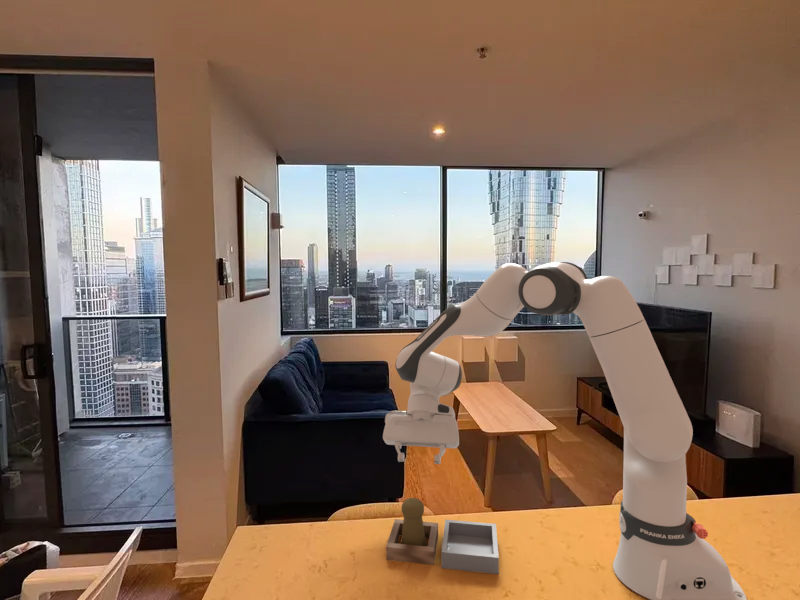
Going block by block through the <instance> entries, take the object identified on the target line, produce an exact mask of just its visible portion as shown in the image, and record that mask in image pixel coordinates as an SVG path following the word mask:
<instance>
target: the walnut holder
mask: <svg viewBox="0 0 800 600" xmlns="http://www.w3.org/2000/svg"><path fill="white" fill-rule="evenodd" d="M403 521H404V519H398V518H397V519H396V518H394V522H393V524H392V527H391V531H390V533H389V537H388V540H387V543H386V545H385V556H386V557H385V559H386V560H387V561H393V562H394V561H395V562H402V563H403V562H404V563H412V564H422V565H430V566H431V565H432V566H434V565H435V560H436V553H437V545H438V539H439V522H434V521H433V522H432V521H423V527H424V534H425V539H426V538H427V539H428V543H427V545H426V546H416V545H406V544H401V543H399V540H400V537H401V536H402V530H403Z"/></svg>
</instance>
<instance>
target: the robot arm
mask: <svg viewBox="0 0 800 600" xmlns="http://www.w3.org/2000/svg"><path fill="white" fill-rule="evenodd" d="M523 308H526V309H527V310H528V311H529V312H531V313H533V314H536V315H540V316H541V315H542V316H557V315H561V316H562V315H565V316H566V315H571V314H575V315H577V316H578V318H579V319H580V321H581V322H582V325H583V327H584V329H585V331H586V333H587V336H588V338H589V341H590V343H591V346H592V348H593V350H594V352H595V355H596V357H597V359H598V362H599V365H600V367H601V369H602V371H603V374H604V377H605V380H606V382H607V385H608V388H609V391H610V393H611V397H612V399H613V403H614V404H615V407H616V410H617V413H618V416H619V417H620V420H621V423H622V427H623V464H622V465H623V466H622V467H623V470H622V471H623V473H622V474H623V477H622V481H623V482H622V483H623V484H622V501H620V506H619V508H620V511H619V519H618V520H619V529H620V538H619V544H618V548H617V551H616V555H615V557H614V560H613V562H612V568H613V572H614V573H615V575H616V577H617V578H618V580H619V581H620V582H622V584H624V585H625V586H626V587H627V588H629V589H631V590H632V592H635V593H636V594H638V595H640V596H642V597H644V598H646V599H648V600H748V598H747V596H746V593H745V591H744V590H743V589H742V587H741V586H740V584H739V583H738V582H737V581H736V578H735V579H734V577H733V576H732V575H731V572H730V569H729V566H728V565H727V562H726V561H725V559H724V558H723V556H722V555H721V554H720V552H718V551H717V550H716V548H715V547H714V546H712V544H710V543H709V542H708V541H707V540H705V539H707V537H709V533H708V531H707V529H705V528H704V525H702V524H700V523H697V522H696V519H695V518H694V517H693V515H690V514H689V513H688V512H687V498H688V497H687V494H688V493H687V492H688V476H687V463H686V462H687V460H686V458H687V457H686V454H687V452H688V451H689V449H690V447H691V444H692V441H693V436H694V433H693V432H694V429H693V425H692V421H691V419H690V417H689V415H688V412H687V410H686V408H685V406H684V404H683V401H682V399H681V397H680V394H679V393H678V390H677V388H676V386H675V384H674V381H673V380H672V377H671V376H670V373H669V370H668V368H667V366H666V364H665V361H664V359H663V357H662V354H661V353H660V351H659V349H658V345H657V344H656V341H655V340H654V339H655V338H654V337H653V334H652V333H651V330H650V328H649V326H648V324H647V321H646V319H645V317H644V316H643V315H644V314H643V312H642V311H641V308H640V307H639V305H638V303H637V301H636V300H635V298H634V297H633V295H632V293H631V291H629V289H628V287H627V286H626V285H625V284H624V282H623V281H622V280H621V279H619V278H617V277H616V276H612V275H599V276H596V277H593V278H588V276H587V274H586V272H585V271H584V269H582V268H581V267H580V266H578V265H577V264H575V263H573V262H569V261H560V262H557V261H552V262H547V263H543V264H541V265H540V264H539V265H536V266H534V267H532V268H531V269H529V270H528V269H527V268H525V267H524V266H522V265H520V264H518V263H514V262H513V263H512V262H506V263H504V264H501V266H499V267H498V268H497V269H496V270H494V272H492V273H491V274H490V275H489V276H488V278H487V279H485V280H484V281H483V283H482V284H481V286H480V287H479V288H478V289H477V291H475V293H474V294H473V295H472V296H471V297H469V298H468V299H467V300H465V301H463V302H461V303H459V304H454V305H450V306H448V307H447V308H446V309H444V311H443V312H441V314H440V315H438V316H437V317H436V318H435V319H434V320H433V321H432V322H431V323H430V324H429V325H428V326H427V327H426V328H425V329H424V330H423V331H422V332H421V333H420V334H418V336H417V337H416V338H415V339H413V340H412V341H411V342H409V343H408V344H407V345H405V346H404V347H403V348H402V349H401V350H400V351H399V353H398V354H397V357H396V360H395V363H394V364H395V370H396V373H397V374H398V376H399V377H400V379H401V380H402V381H405V382H408V383H409V389H410V395H409V397H408V401H407V410H391V411H389V412H388V413H386V414H385V418H384V423H385V425H384V428H383V433H382V440H383V441H384V443H385V444H386V445H389V446H394V447H395V450H396V452H397V461H398V463H400V462H401V463H402V462H405V457H406V456H405V453H404V452H401V449H402V446H407V447H423V448H424V447H426V448H439V452H438V454H434V465H440V464H441V463H442V462H441V461H442V457H443V456H444V454H445V453H446V449H457V448H458V447H459V445H460V436H459V435H460V433H459V426H458V425H459V424H458V421H457V420H456V412H455V410H454V408H453V407H452V406H450V405H447V404H445V403H441V402H440V398H441V397H442V396H443V397H445V396H447V395H449V394H451V393H453V392H455V391H457V389H459V388H460V385H461V382H462V380H463V378H462V377H463V373H462V372H463V371H462V367H461V365H460V363H459V361H457V360H456V359H452V358H450V357H448V356H445V355H443V354H439V353H437V352H435V351H434V350H435V349H436V348H437V347H438V346H439V345H440V344H441V343H442V342H443V341H444V340H445V339H447V338H449V337H454V336H473V337H492V336H495V335H496V336H497V335H498V334H500V333H502V331H504V330H505V329H506V328H508V326H509V325H510V324H511V323H512V321H513V320H514V318H515V317H516V316H517V315H518V314H519V312H520V311H522V310H523Z"/></svg>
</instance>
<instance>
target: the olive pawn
mask: <svg viewBox="0 0 800 600" xmlns="http://www.w3.org/2000/svg"><path fill="white" fill-rule="evenodd" d="M424 512H425V505H424V503H423V502H422V500H421V499H419V498H416V497H408V498H407V499H405V500H404V501H403V502H402V504H401V513H402V515H403V520H404V521H403V530H402V535H401V539H400V544H406V545H416V546H427V542H426V538H425V534H424V527H423V522H424V520H423V515H424Z"/></svg>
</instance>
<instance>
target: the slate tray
mask: <svg viewBox="0 0 800 600" xmlns="http://www.w3.org/2000/svg"><path fill="white" fill-rule="evenodd" d="M498 544H499V543H498V535H497V524H496V523H489V522H478V521H468V520H456V519H445V521H444V527H443V536H442V543H441V552H440V553H441V554H440V555H441V556H440V557H441V558H440V559H441V563H440V564H441V569H444V570H445V569H447V570H456V571H457V570H458V571H466V572H476V573H482V574H483V573H484V574H493V575H499V574H500V573H499V572H500V571H499V570H500V566H499V565H500V561H499V560H500V558H499V545H498Z"/></svg>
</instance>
